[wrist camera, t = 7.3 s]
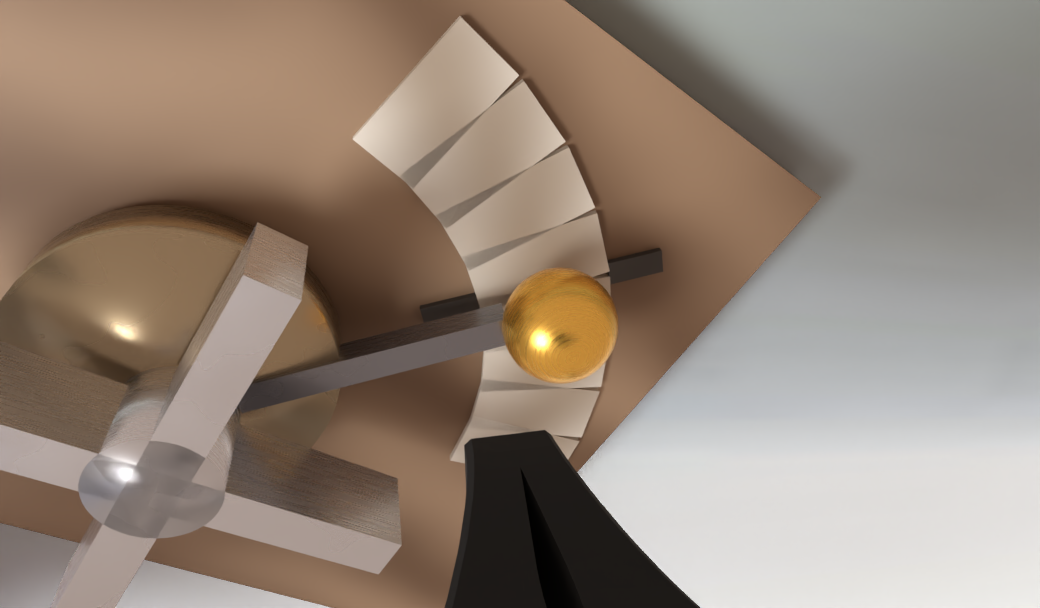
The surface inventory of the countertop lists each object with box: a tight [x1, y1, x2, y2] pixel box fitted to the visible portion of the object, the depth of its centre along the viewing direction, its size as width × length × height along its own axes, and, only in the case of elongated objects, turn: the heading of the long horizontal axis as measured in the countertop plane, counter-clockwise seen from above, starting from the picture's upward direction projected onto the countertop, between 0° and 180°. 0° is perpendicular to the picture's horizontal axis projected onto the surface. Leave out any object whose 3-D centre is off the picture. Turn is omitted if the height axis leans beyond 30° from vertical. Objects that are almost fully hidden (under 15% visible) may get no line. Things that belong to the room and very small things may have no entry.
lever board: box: [0, 0, 821, 608], centre depth 21 cm, size 21×21×2 cm
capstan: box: [0, 205, 618, 608], centre depth 18 cm, size 15×15×4 cm
